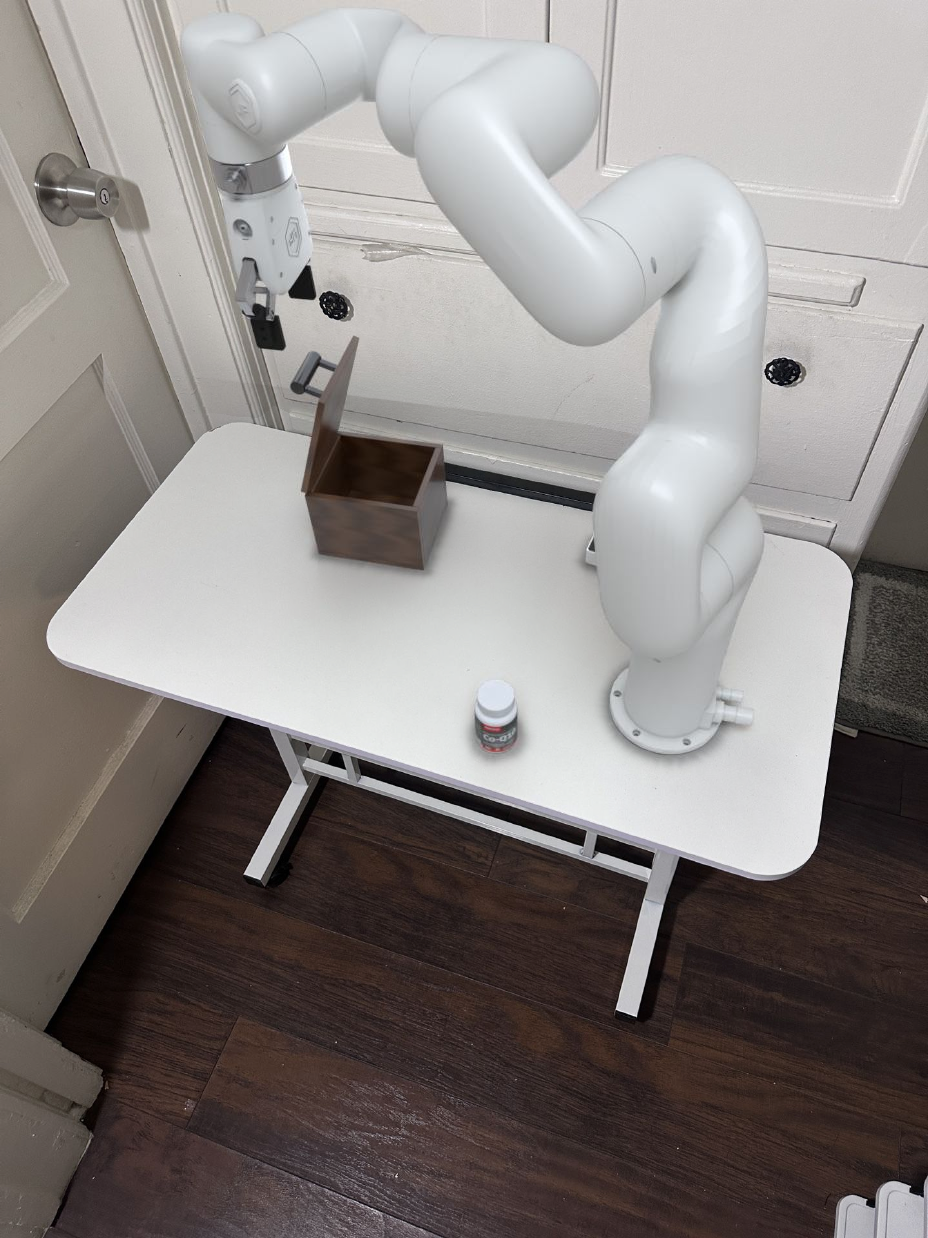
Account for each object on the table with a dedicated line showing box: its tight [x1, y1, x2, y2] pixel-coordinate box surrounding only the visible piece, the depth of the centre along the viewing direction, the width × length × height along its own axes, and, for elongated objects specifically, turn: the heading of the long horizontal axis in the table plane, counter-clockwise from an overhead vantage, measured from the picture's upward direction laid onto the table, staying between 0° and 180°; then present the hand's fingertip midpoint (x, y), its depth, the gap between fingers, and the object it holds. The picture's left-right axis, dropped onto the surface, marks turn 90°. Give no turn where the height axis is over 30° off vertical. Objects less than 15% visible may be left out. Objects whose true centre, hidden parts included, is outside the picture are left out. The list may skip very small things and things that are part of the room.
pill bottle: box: [473, 679, 519, 754], centre depth 101 cm, size 5×5×8 cm
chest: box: [304, 430, 449, 571], centre depth 121 cm, size 15×13×11 cm
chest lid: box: [289, 335, 360, 494], centre depth 111 cm, size 15×13×5 cm
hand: (288, 322), depth 102 cm, fingers open, 9 cm apart
